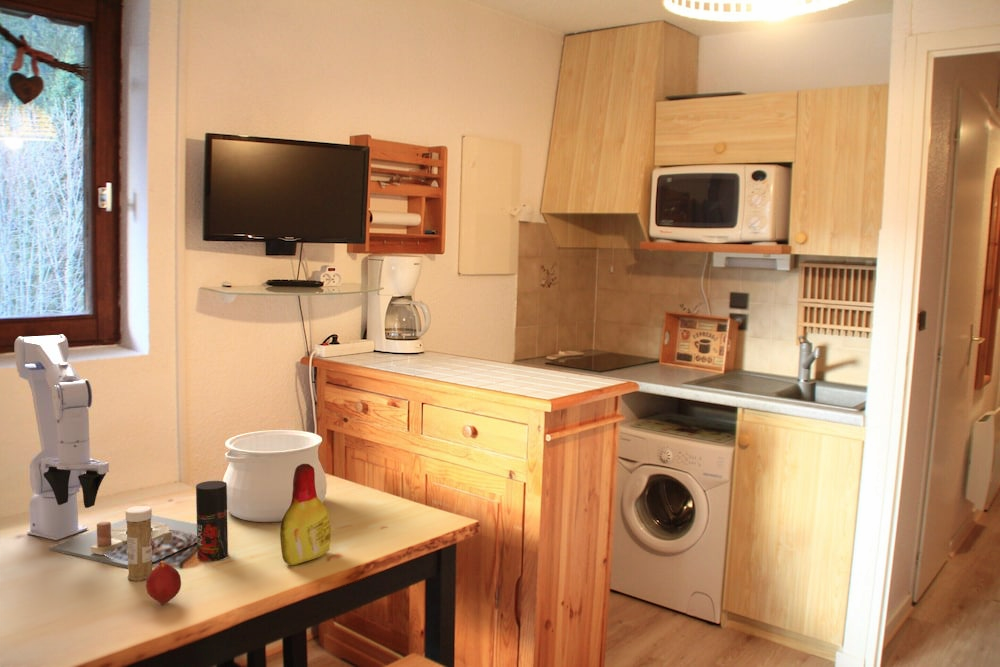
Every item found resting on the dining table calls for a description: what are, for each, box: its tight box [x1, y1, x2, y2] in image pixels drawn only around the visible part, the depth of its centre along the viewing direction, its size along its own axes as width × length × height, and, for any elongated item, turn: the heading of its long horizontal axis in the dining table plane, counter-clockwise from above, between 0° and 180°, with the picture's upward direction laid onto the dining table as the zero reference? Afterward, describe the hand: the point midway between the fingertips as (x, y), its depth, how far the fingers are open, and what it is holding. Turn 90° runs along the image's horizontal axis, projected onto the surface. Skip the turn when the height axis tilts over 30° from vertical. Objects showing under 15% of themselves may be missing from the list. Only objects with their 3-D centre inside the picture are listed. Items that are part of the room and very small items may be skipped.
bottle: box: [279, 464, 332, 566], centre depth 169 cm, size 12×6×20 cm, turn 143°
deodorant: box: [195, 480, 229, 563], centre depth 170 cm, size 6×6×15 cm
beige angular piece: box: [91, 521, 169, 555], centre depth 176 cm, size 17×12×6 cm
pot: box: [222, 429, 328, 523], centre depth 201 cm, size 26×24×17 cm
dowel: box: [163, 531, 172, 543], centre depth 175 cm, size 2×2×3 cm
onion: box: [145, 560, 182, 605], centre depth 148 cm, size 6×6×8 cm
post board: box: [49, 514, 197, 569], centre depth 179 cm, size 24×24×5 cm
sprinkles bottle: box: [125, 505, 154, 582], centre depth 160 cm, size 5×5×14 cm
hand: (76, 504), depth 171 cm, fingers open, 6 cm apart
